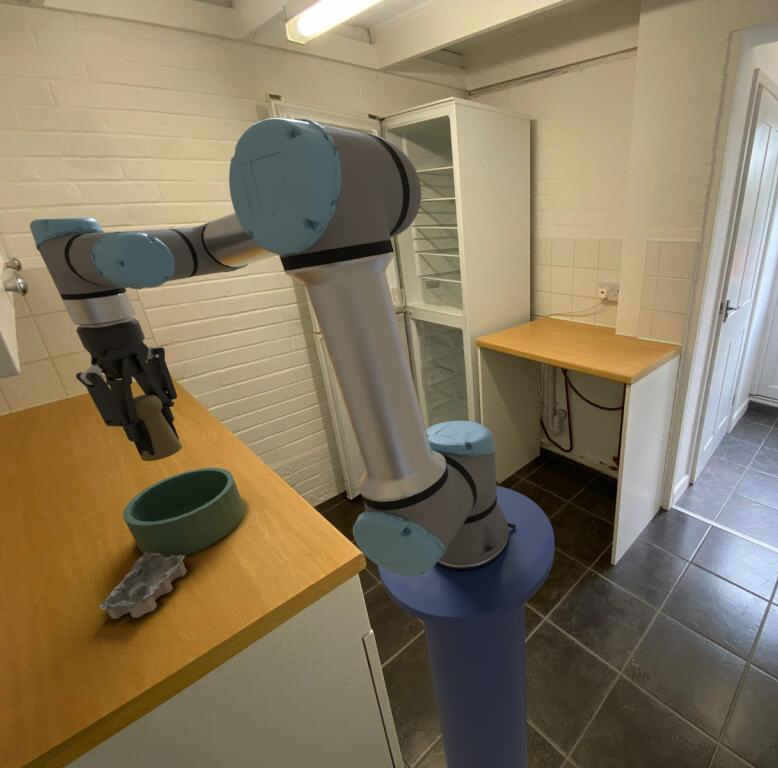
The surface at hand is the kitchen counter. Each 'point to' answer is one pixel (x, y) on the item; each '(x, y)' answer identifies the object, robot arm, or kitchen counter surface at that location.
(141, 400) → the cork
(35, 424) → the kitchen counter surface
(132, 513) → the green round bowl
